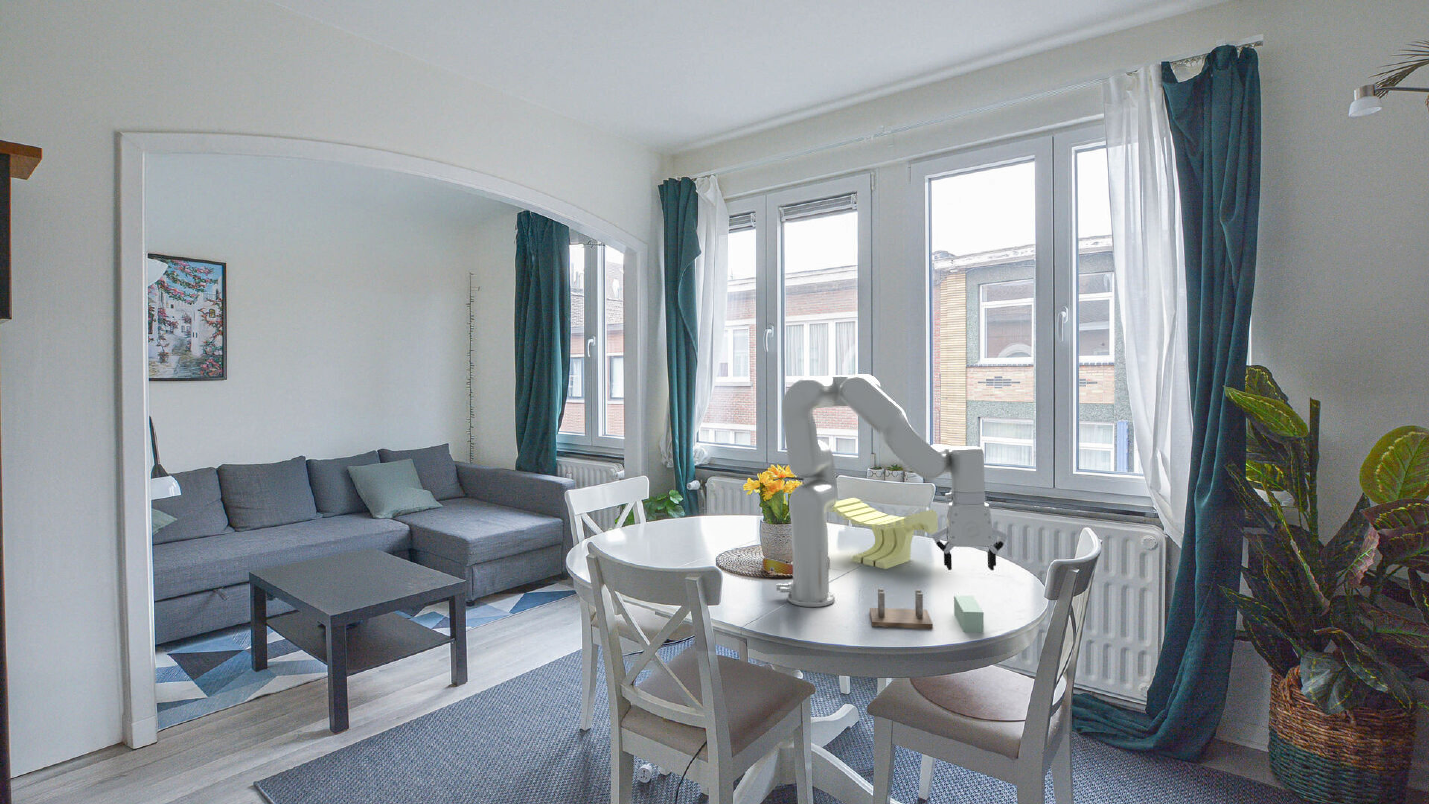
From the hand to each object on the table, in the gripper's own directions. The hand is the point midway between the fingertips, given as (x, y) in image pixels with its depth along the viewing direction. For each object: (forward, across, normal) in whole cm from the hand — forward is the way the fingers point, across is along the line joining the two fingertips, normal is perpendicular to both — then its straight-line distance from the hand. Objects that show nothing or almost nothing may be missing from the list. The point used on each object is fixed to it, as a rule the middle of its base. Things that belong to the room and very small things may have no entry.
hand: (969, 568), depth 171 cm
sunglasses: (+13, -46, +42) cm, 64 cm away
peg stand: (+13, -17, 0) cm, 21 cm away
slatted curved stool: (+13, -17, +56) cm, 60 cm away
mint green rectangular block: (+14, -1, 0) cm, 14 cm away
